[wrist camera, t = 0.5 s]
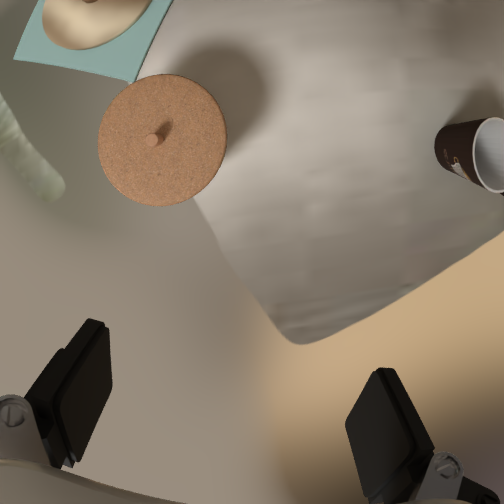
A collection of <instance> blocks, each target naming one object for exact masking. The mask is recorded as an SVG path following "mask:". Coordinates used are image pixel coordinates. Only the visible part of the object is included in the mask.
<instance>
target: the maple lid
mask: <svg viewBox="0 0 504 504" xmlns="http://www.w3.org/2000/svg"><path fill="white" fill-rule="evenodd" d="M151 2H152V0H45V3H44V7H43V12H42V24H43V28H44V31H45V33H46V35H47V37H48V38H49V39H50V40H51V41H52V42H53V43H55V44H56V45H58V46H61V47H63V48H66V49H70V50H87V49H92V48H96V47H99V46H101V45H104V44H106V43H108V42H110V41H112V40H114V39H116V38H117V37H119V36H120V35H122V34H123V33H124V32H126V31H127V30H128V29H129V28H131V27H132V26H133V25H134V24H135V23H136V22H137V21H138V20H139V19H140V17H141V16H142V15H143V14H144V12H145V11H146V10H147V8H148V7H149V5H150V3H151Z"/></svg>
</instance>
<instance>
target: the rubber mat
mask: <svg viewBox="0 0 504 504" xmlns="http://www.w3.org/2000/svg"><path fill="white" fill-rule="evenodd" d="M172 1H173V0H152V2H151V3H150V5H149V7H148V8H147V10H146V11H145V12H144V14H143V15H142V16H141V17H140V19H139V20H138V21H137V22H136V23H135V24H134V25H133V26H132V27H131V28H129V29H128V30H127V31H126V32H124V33H123V34H122V35H120V36H119V37H117V38H116V39H114V40H112V41H110V42H108V43H106V44H104V45H101V46H99V47H96V48H92V49H87V50H70V49H66V48H63V47H61V46H58V45H56V44H55V43H53V42H52V41H51V40H50V39H49V38H48V37H47V35H46V33H45V31H44V28H43V24H42V12H43V7H44V3H45V0H39V1H38V3H37V5H36V7H35V9H34V11H33V13H32V15H31V18H30V19H29V22H28V24H27V26H26V28H25V31H24V33H23V36H22V38H21V40H20V43H19V46H18V48H17V51H16V53H15V56H14V60H22V61H30V62H37V63H43V64H49V65H55V66H61V67H66V68H71V69H77V70H82V71H86V72H91V73H96V74H100V75H105V76H110V77H113V78H117V79H121V80H125V81H129V82H133V83H134V82H135V80H136V78H137V75H138V73H139V70H140V68H141V66H142V63H143V61H144V59H145V56H146V54H147V52H148V50H149V47H150V45H151V43H152V41H153V39H154V37H155V34H156V32H157V30H158V28H159V26H160V24H161V22H162V20H163V18H164V16H165V14H166V12H167V10H168V9H169V7H170V5H171V3H172Z"/></svg>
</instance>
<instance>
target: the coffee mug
mask: <svg viewBox="0 0 504 504" xmlns="http://www.w3.org/2000/svg"><path fill="white" fill-rule="evenodd" d="M434 148H435V154H436V157H437V160H438V162H439V163H440V164H441V166H442V167H443V168H445V169H446V170H449V171H451V172H453V173H455V174H457V175H459V176H461V177H463V178H465V179H467V180H469V181H471V182H473V183H475V184H477V185H479V186H481V187H483V188H485V189H487V190H489V191H491V192H494V193H500V194H502V195H503V196H504V120H503V119H501V118H498V117H491V118H486V119H480V120H474V121H469V122H464V123H459V124H454V125H449V126H445V127H443V128H442V129H441V130H440V131H439V132H438V134H437V136H436V139H435V146H434Z"/></svg>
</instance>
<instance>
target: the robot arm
mask: <svg viewBox="0 0 504 504" xmlns="http://www.w3.org/2000/svg"><path fill="white" fill-rule="evenodd" d="M111 390H112V372H111V357H110V335H109V328H107V327H105V324H104V322H101V321H97V320H94V319H90V318H88V319H87V320H86V321H85V323H84V324H83V325H82V327H81V328H80V329H79V330H78V332H77V333H76V334H75V336H74V337H73V338H72V340H71V341H70V342H69V344H68V345H67V346H66V348H65V349H63V348H61V349H59V350H58V351H57V352H56V354H55V355H54V356H53V358H52V359H51V360H50V362H49V363H48V364H47V366H46V367H45V368H44V370H43V371H42V373H41V374H40V375H39V377H38V378H37V380H36V381H35V382H34V384H33V385H32V387H31V388H30V389H29V391H28V392H27V394H26V395H25V397H24V398H23V397H21V396H18V395H5V396H1V397H0V504H186V503H180V502H175V501H170V500H165V499H160V498H155V497H151V496H147V495H143V494H139V493H134V492H131V491H127V490H124V489H119V488H116V487H113V486H109V485H106V484H103V483H100V482H96V481H93V480H90V479H87V478H84V477H81V476H78V475H75V474H72V473H69V472H66V471H63V470H60V469H61V467H62V465H65V466H68V467H70V468H73V466H74V463H75V461H76V462H80V461H81V459H82V456H83V454H84V452H85V449H86V447H87V445H88V442H89V440H90V438H91V435H92V433H93V431H94V428H95V426H96V424H97V422H98V419H99V417H100V415H101V413H102V411H103V408H104V406H105V404H106V402H107V400H108V398H109V395H110V393H111ZM345 428H346V431H347V435H348V438H349V442H350V445H351V449H352V453H353V456H354V460H355V463H356V467H357V471H358V475H359V478H360V482H361V486H362V490H363V494H364V496H365V497H368V500H369V504H375V503H382V502H384V504H500V500H499V498H498V496H497V495H496V494H495V493H494V492H493V491H492V490H490V489H488V488H486V487H484V486H482V485H480V484H478V483H475V482H474V481H472V480H470V479H468V478H466V477H464V476H463V470H464V469H463V466H462V463H461V462H460V460H459V459H458V458H457V457H456V456H455V455H453V454H451V453H448V452H439V453H437V454H435V455H434V453H433V450H434V449H435V447H434V445H433V443H432V441H431V439H430V437H429V435H428V433H427V431H426V429H425V427H424V425H423V423H422V421H421V419H420V417H419V415H418V413H417V411H416V409H415V407H414V405H413V403H412V401H411V400H410V398H409V396H408V394H407V392H406V390H405V388H404V386H403V384H402V382H401V380H400V379H399V377H398V375H397V373H396V371H395V370H394V369H393V368H378V369H377V370H376V371H373V372H372V374H371V375H370V377H369V379H368V381H367V383H366V385H365V387H364V389H363V391H362V392H361V394H360V396H359V398H358V400H357V401H356V403H355V405H354V407H353V409H352V410H351V412H350V414H349V415H348V417H347V419H346V422H345Z"/></svg>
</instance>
